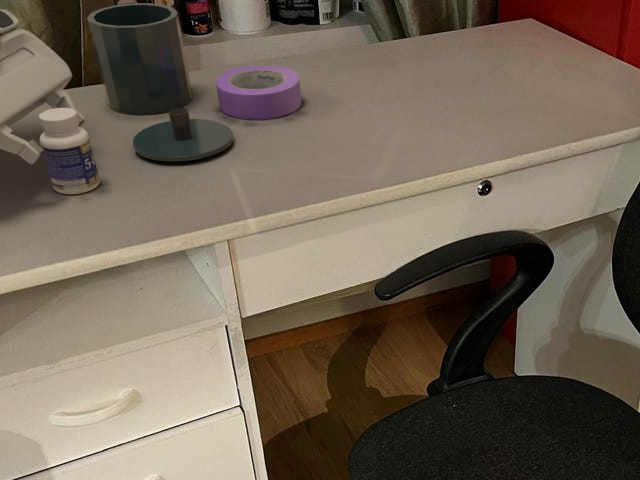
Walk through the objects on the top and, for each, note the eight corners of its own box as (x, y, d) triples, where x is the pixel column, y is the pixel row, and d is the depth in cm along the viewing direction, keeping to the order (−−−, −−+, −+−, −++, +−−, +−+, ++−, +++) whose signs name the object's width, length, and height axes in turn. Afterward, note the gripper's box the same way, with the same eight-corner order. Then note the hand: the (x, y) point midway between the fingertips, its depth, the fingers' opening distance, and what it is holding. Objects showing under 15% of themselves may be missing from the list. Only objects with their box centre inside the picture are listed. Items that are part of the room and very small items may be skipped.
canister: (100, 116, 121) (79, 27, 113) (117, 87, 130) (97, 3, 123) (186, 113, 122) (170, 26, 115) (196, 85, 131) (182, 2, 124)
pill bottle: (101, 191, 102) (82, 119, 97) (53, 198, 101) (31, 125, 95) (99, 173, 106) (81, 103, 101) (53, 179, 105) (32, 108, 99)
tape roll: (288, 122, 120) (285, 95, 118) (207, 117, 121) (203, 90, 119) (311, 93, 130) (308, 67, 127) (235, 88, 131) (232, 62, 128)
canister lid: (126, 167, 108) (117, 131, 105) (143, 128, 118) (136, 94, 115) (229, 164, 109) (223, 128, 106) (238, 125, 119) (233, 92, 116)
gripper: (-100, 61, 85) (23, 162, 90) (16, 5, 101) (115, 93, 106) (-124, 102, 88) (-4, 197, 93) (-8, 42, 104) (89, 125, 109)
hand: (60, 141), depth 100 cm, fingers open, 8 cm apart
